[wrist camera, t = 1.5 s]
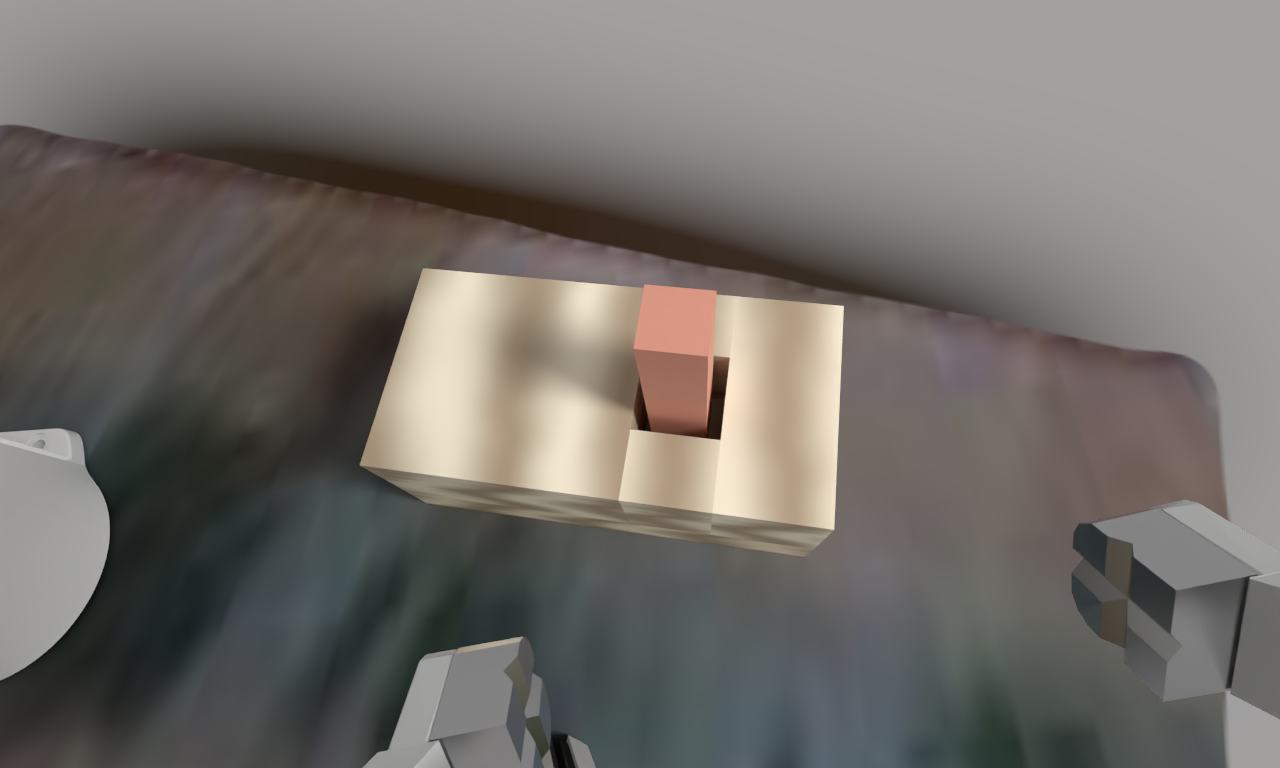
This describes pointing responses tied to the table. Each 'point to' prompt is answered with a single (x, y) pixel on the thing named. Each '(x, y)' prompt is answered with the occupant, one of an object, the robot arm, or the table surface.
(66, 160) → the table surface
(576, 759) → the hinge
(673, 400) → the salmon pink square peg
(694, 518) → the beige wooden block
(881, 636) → the table surface
